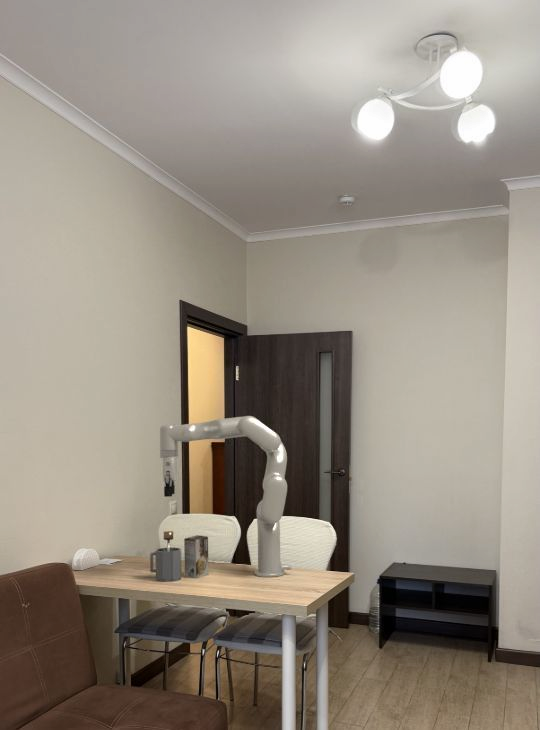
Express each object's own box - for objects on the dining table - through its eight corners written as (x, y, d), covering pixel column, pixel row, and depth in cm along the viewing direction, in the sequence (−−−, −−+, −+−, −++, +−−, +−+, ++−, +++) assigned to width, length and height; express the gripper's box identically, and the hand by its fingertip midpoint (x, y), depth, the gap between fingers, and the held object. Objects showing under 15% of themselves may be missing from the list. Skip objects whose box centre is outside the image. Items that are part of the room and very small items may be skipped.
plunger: (179, 570, 292) (179, 530, 294) (177, 574, 284) (177, 533, 286) (160, 570, 292) (160, 530, 294) (157, 574, 284) (157, 533, 286)
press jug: (182, 576, 293) (182, 547, 294) (179, 581, 283) (179, 551, 284) (152, 576, 293) (152, 547, 294) (148, 582, 283) (148, 552, 284)
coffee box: (196, 573, 299) (196, 535, 300) (209, 574, 296) (208, 536, 297) (183, 577, 291) (183, 538, 293) (196, 578, 288) (195, 539, 289)
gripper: (176, 454, 285) (176, 497, 283) (180, 453, 302) (180, 493, 300) (157, 455, 284) (157, 497, 283) (162, 453, 302) (163, 493, 300)
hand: (169, 495), depth 292 cm, fingers open, 9 cm apart
